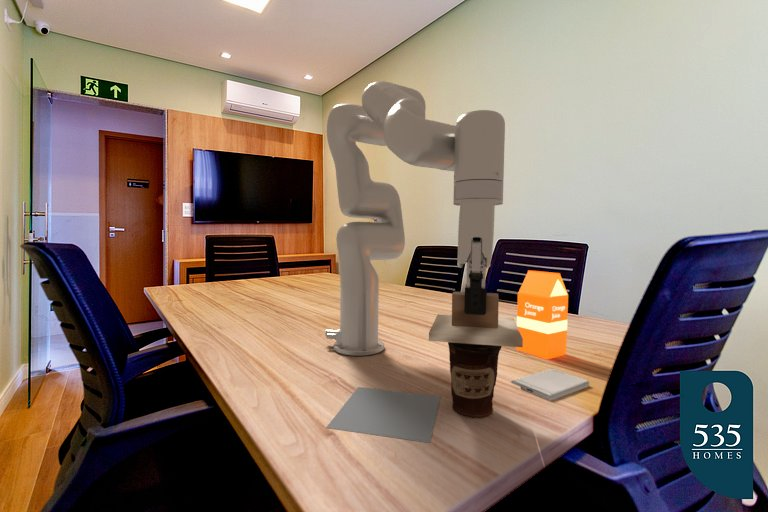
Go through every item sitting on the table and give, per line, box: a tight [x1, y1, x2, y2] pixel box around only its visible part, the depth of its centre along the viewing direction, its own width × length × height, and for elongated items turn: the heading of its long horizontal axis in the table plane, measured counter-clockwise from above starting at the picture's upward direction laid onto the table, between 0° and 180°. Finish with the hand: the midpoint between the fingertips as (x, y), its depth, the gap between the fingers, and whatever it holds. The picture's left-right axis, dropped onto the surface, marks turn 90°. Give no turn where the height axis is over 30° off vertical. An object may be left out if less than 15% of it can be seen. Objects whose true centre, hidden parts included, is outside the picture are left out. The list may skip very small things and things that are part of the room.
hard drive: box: [510, 368, 590, 402], centre depth 70 cm, size 2×8×12 cm
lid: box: [428, 291, 523, 348], centre depth 59 cm, size 13×13×6 cm
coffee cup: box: [447, 342, 503, 420], centre depth 59 cm, size 9×8×13 cm
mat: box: [325, 386, 441, 444], centre depth 59 cm, size 15×15×1 cm
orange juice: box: [515, 269, 569, 360], centre depth 91 cm, size 8×9×20 cm
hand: (475, 310), depth 58 cm, fingers open, 3 cm apart
